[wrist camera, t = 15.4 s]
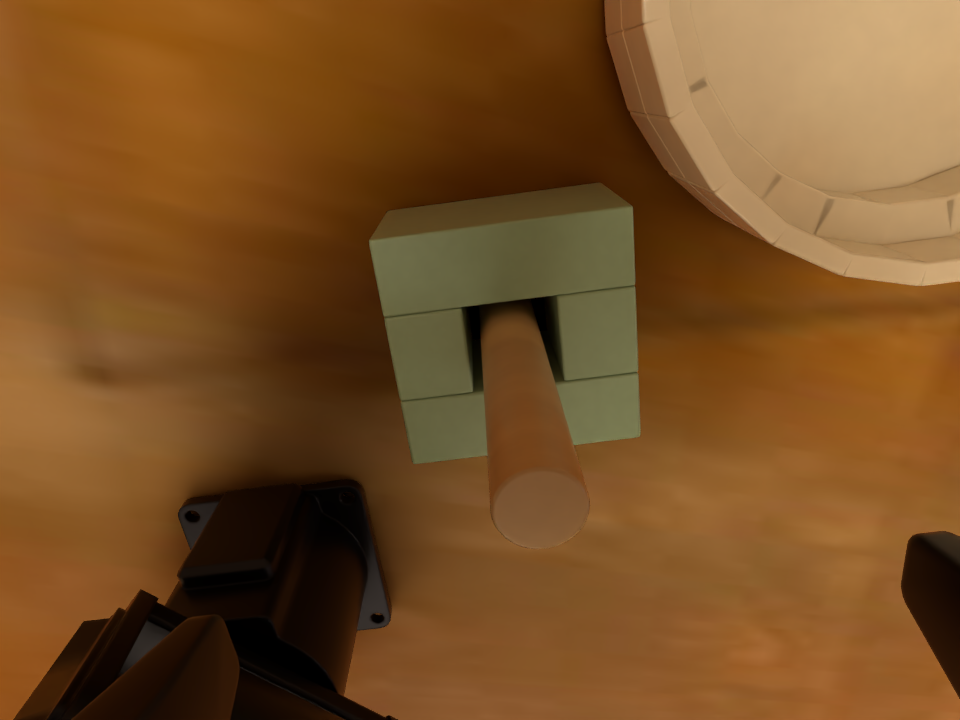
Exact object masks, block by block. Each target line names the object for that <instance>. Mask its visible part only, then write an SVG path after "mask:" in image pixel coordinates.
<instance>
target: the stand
mask: <svg viewBox="0 0 960 720" xmlns="http://www.w3.org/2000/svg"><path fill="white" fill-rule="evenodd" d="M369 246H370V251H371V256H372V261H373V267H374V272H375V277H376V282H377V287H378V292H379V297H380V302H381V307H382V312H383V316H384V317H385V319H384V322H385V327H386V332H387V337H388V342H389V347H390V352H391V357H392V362H393V367H394V372H395V378H396V383H397V388H398V393H399V398H400V399H401V408H402V413H403V418H404V423H405V428H406V433H407V438H408V443H409V448H410V453H411V458H412V462H413V463H414V464H421V463H429V462H437V461H446V460H454V459H462V458H470V457H479V456H487V440H486V423H485V405H484V388H483V370H482V353H481V339H477V340H472V332H471V325H470V317H469V310H468V306H476V305H483V304H491V303H499V302H507V301H515V300H522V299H530V298H538V297H544V304H545V315H546V326H547V330H548V331H540V334H541V337H542V340H543V344H544V347H545V350H546V354H547V357H548V360H549V364H550V367H551V371H552V374H553V377H554V381H555V384H556V387H557V391H558V394H559V397H560V401H561V404H562V407H563V411H564V414H565V418H566V421H567V424H568V428H569V431H570V434H571V438H572V441H573V444H574V445H578V444H586V443H595V442H603V441H611V440H619V439H628V438H636V437H640V434H641V430H640V402H639V374H638V373H637V371H638V341H637V313H636V288H635V286H634V285H635V283H636V281H635V252H634V224H633V207H632V205H630V204H629V203H628V202H626V201H625V200H624V199H622V198H621V197H620V196H618V195H617V194H615V193H614V192H613V191H611V190H610V189H609V188H607V187H606V186H605V185H603V184H602V183H592V184H584V185H577V186H569V187H562V188H554V189H547V190H539V191H532V192H524V193H517V194H509V195H502V196H494V197H487V198H479V199H472V200H464V201H457V202H449V203H442V204H434V205H427V206H419V207H412V208H404V209H397V210H389V211H387V212H386V214H385V216H384V217H383V219H382V220H381V222H380V224H379V225H378V227H377V229H376V230H375V232H374V233H373V235H372V237H371V238H370V240H369Z"/></svg>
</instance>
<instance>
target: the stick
mask: <svg viewBox="0 0 960 720" xmlns="http://www.w3.org/2000/svg"><path fill="white" fill-rule="evenodd" d="M479 318H480V335H481V353H482V370H483V388H484V405H485V423H486V440H487V458H488V475H489V492H490V510H491V517H492V520H493V523H494V525H495V526H496V528H497V529H498V531H499V532H500V533H501V534H502V535H503V536H504V537H505V538H506V539H508V540H509V541H510V542H512V543H514V544H516V545H519V546H522V547H525V548H531V549H545V548H551V547H555V546H558V545H560V544H563V543H565V542H566V541H568V540H570V539H571V538H573V537H574V536H575V535H576V534H577V533H578V532H579V531H580V530H581V528H582V527H583V525H584V524H585V522H586V520H587V517H588V514H589V509H590V500H589V495H588V491H587V488H586V485H585V481H584V478H583V475H582V471H581V468H580V465H579V461H578V458H577V454H576V451H575V448H574V444H573V441H572V438H571V434H570V431H569V428H568V424H567V421H566V418H565V414H564V411H563V407H562V404H561V401H560V397H559V394H558V391H557V387H556V384H555V381H554V377H553V374H552V371H551V367H550V364H549V360H548V357H547V354H546V350H545V347H544V344H543V340H542V337H541V334H540V330H539V327H538V323H537V320H536V317H535V313H534V310H533V307H532V303H531V300H530V299H522V300H515V301H507V302H499V303H491V304H483V305H479Z"/></svg>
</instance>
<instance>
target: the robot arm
mask: <svg viewBox="0 0 960 720" xmlns="http://www.w3.org/2000/svg"><path fill="white" fill-rule="evenodd" d="M344 492H351V493H352V494H353V495H354V497H346V496H344V494H343V493H344ZM190 510H191V511H196V512H197V513H198V514H199V515H200V516H198V515H194V514H192V513H191V511H190ZM178 517H179V520H180V523H181V526H182V528H183V531H184V534H185V536H186V539H187V542H188V544H189V547H190V550H191V551H190V553H189V554H188V556H187V558H186V559H185V561H184V563H183V564H182V566H181V568H180V569H179V571H178V574H177V576H178V579H179V582H178V584H177V585H176V587H175V589H174V591H173V592H172V594H171V596H170V597H169V599H168V601H167V603H166V604H165V606H164V605H162V604H160V603H158V602H157V600H158V598H157V597H155V596H153V595H151V594H149V593H147V592H145V591H143V590H141V589H140V591H139V592H138V593H137V595H136V596H135V597H134V599H133V600H132V602H131V603H130V604H129V606H128V607H127V608H126V610H123V609H121V608H118V609H117V611H116V612H115V613H114V615H112V616H111V617H110V618H109V619H100V620H91V621H84V622H83V623H82V625H81V626H80V627H79V629H78V630H77V632H76V633H75V634H74V636H73V637H72V639H71V640H70V641H69V643H68V644H67V646H66V647H65V648H64V650H63V651H62V653H61V654H60V655H59V657H58V658H57V660H56V661H55V663H54V664H53V665H52V667H51V668H50V670H49V671H48V672H47V674H46V675H45V676H44V678H43V679H42V681H41V682H40V683H39V685H38V686H37V688H36V689H35V690H34V692H33V693H32V694H31V696H30V697H29V699H28V700H27V701H26V703H25V704H24V706H23V707H22V708H21V710H20V711H19V712H18V714H17V715H16V717H15V718H14V719H13V720H398V719H396V718H394V717H392V716H390V715H388V716H387V717H383V716H382V715H380V714H378V713H376V712H374V711H372V710H370V709H368V708H366V707H364V706H362V705H360V704H358V703H356V702H354V701H352V700H350V699H348V698H346V697H344V692H345V687H346V682H347V677H348V672H349V667H350V662H351V657H352V652H353V647H354V642H355V637H356V632H357V631H358V630H367V629H375V628H382V627H385V626H386V625H388V624H389V622H390V620H391V613H392V608H391V604H390V600H389V596H388V591H387V587H386V583H385V579H384V575H383V570H382V566H381V562H380V558H379V553H378V549H377V545H376V541H375V536H374V532H373V528H372V524H371V519H370V515H369V511H368V507H367V502H366V498H365V494H364V490H363V488H362V486H361V485H360V484H359V483H358V482H357V481H354V480H347V479H346V480H338V481H330V482H321V483H313V484H305V485H297V484H294V483H292V484H284V485H276V486H267V487H259V488H251V489H243V490H234V491H228V492H226V493H225V494H222V495H213V496H205V497H197V498H191V499H188V500H187V501H185V502H184V504H183V505H182V507H181V508H180V510H179V512H178ZM901 589H902V594H903V598H904V600H905V603H906V605H907V607H908V608H909V610H910V612H911V614H912V615H913V617H914V619H915V621H916V623H917V624H918V626H919V628H920V630H921V631H922V633H923V635H924V637H925V638H926V640H927V642H928V644H929V645H930V647H931V649H932V651H933V653H934V654H935V656H936V658H937V660H938V661H939V663H940V665H941V667H942V668H943V670H944V672H945V674H946V675H947V677H948V679H949V681H950V682H951V684H952V686H953V688H954V690H955V691H956V693H957V695H958V697H959V698H960V537H959V536H957V535H955V534H952V533H950V532H946V531H938V532H929V533H920V534H916V535H913V536H912V537H911V538H910V539H909V541H908V544H907V550H906V556H905V562H904V568H903V575H902V581H901ZM374 613H380V614H382V615H376V614H374Z"/></svg>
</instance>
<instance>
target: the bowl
mask: <svg viewBox="0 0 960 720" xmlns="http://www.w3.org/2000/svg"><path fill="white" fill-rule="evenodd" d="M604 5H605V26H606V35H607V42H608V45H609V49H610V52H611V55H612V59H613V62H614V65H615V69H616V72H617V75H618V79H619V82H620V85H621V89H622V92H623V95H624V99H625V102H626V106H627V109H628V111H631V112H630V114H631V117H632V118H633V120H634V121H635V123H636V125H637V126H638V128H639V129H640V131H641V133H642V134H643V136H644V137H645V139H646V141H647V142H648V144H649V145H650V147H651V148H652V150H653V152H654V153H655V155H656V156H657V158H658V160H659V161H660V163H661V164H662V166H663V168H664V169H665V170H666V171H668V174H669V175H670V176H671V177H672V178H673V179H675V180H676V181H677V182H678V183H679V184H680V185H681V186H682V187H684V188H685V189H686V190H687V191H688V192H689V193H690V194H692V195H693V196H694V197H695V198H696V199H697V200H698V201H700V202H701V203H702V204H703V205H704V206H705V207H706V208H708V209H709V210H710V211H711V212H712V213H713V214H715V215H717V216H718V217H720V218H721V219H723V220H725V221H727V222H729V223H731V224H733V225H735V226H737V227H739V228H740V229H742V230H744V231H746V232H748V233H750V234H752V235H754V236H755V237H757V238H759V239H761V240H763V241H765V242H767V243H769V244H771V245H773V246H775V247H777V248H779V249H781V250H783V251H786V252H788V253H790V254H792V255H795V256H797V257H799V258H801V259H804V260H806V261H808V262H810V263H813V264H815V265H817V266H819V267H822V268H824V269H826V270H828V271H831V272H833V273H835V274H837V275H842V276H844V277H851V278H859V279H866V280H874V281H881V282H889V283H897V284H904V285H912V286H919V285H920V286H926V285H934V284H942V283H950V282H958V281H960V0H604Z"/></svg>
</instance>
